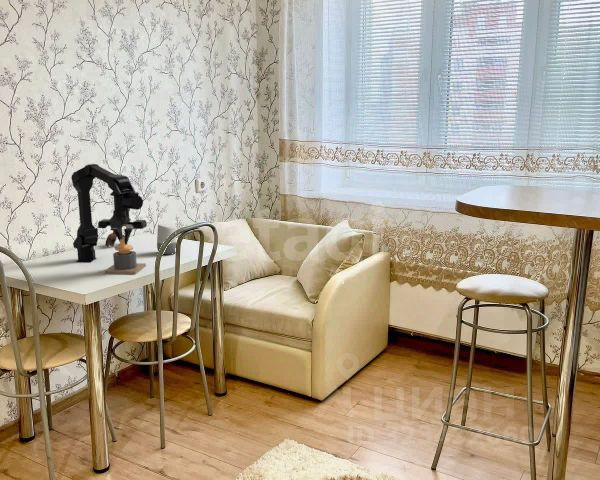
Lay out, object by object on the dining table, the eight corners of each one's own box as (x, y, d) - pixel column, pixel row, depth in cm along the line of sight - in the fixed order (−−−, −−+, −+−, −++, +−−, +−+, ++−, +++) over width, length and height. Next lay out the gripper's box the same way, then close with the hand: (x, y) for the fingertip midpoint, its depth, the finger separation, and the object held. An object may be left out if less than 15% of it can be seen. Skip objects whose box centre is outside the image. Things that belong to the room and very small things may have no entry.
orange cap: (112, 255, 244) (111, 240, 243) (119, 251, 251) (118, 236, 250) (129, 255, 244) (128, 240, 242) (135, 251, 251) (134, 237, 249)
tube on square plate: (104, 273, 243) (103, 256, 242) (116, 265, 256) (115, 249, 254) (135, 274, 242) (134, 257, 241) (145, 266, 255) (145, 249, 253)
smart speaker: (180, 254, 276) (178, 224, 273) (160, 256, 272) (158, 226, 268) (174, 250, 284) (173, 221, 281) (155, 252, 280) (153, 223, 277)
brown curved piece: (106, 244, 297) (114, 230, 298) (123, 253, 297) (131, 238, 298) (98, 244, 285) (107, 228, 286) (116, 253, 285) (124, 237, 286)
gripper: (91, 210, 236) (93, 248, 240) (137, 210, 235) (139, 249, 238) (102, 205, 247) (104, 242, 250) (146, 206, 246) (148, 243, 249)
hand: (123, 244), depth 247 cm, fingers closed on orange cap
